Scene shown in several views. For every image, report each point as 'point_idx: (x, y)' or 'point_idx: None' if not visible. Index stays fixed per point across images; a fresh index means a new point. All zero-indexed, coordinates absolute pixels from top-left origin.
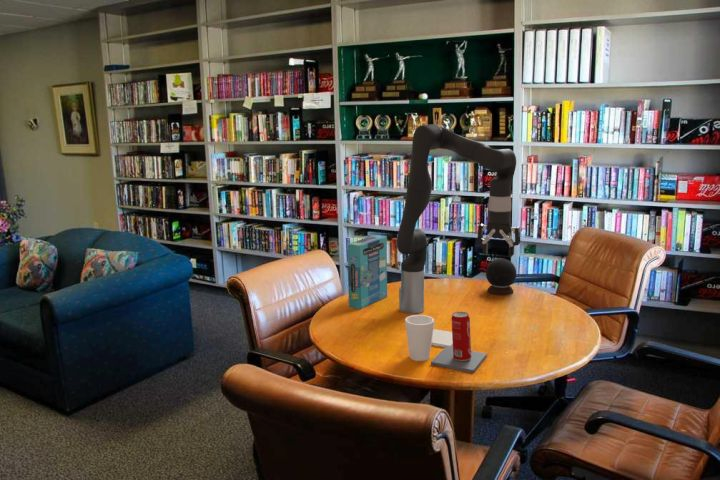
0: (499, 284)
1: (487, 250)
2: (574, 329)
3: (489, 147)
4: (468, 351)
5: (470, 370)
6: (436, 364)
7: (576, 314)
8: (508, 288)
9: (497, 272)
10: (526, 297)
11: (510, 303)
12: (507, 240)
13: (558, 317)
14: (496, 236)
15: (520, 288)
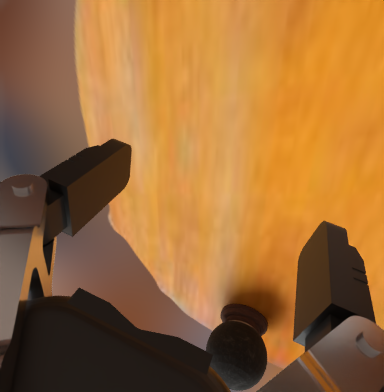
0: (243, 325)
1: (302, 270)
2: None
3: None
4: None
5: None
6: None
7: (121, 216)
8: (228, 317)
9: (242, 350)
10: (200, 289)
11: (228, 270)
12: (8, 227)
13: (146, 204)
14: (146, 365)
15: (209, 322)
